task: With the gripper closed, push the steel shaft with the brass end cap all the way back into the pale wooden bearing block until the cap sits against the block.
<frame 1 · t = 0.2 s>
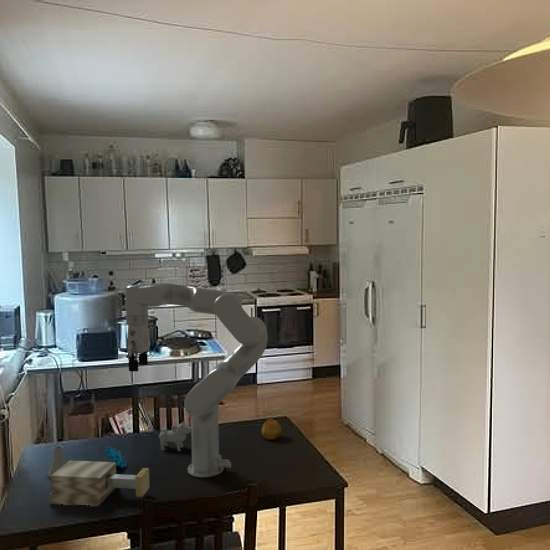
hand: (138, 367, 190), 36 cm above the table, tool pointing down, fingers open, 9 cm apart
flask: (59, 475, 187), on the table
fruit: (271, 438, 221), on the table
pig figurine: (175, 448, 211), on the table
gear: (116, 467, 194), on the table
bearing block: (85, 494, 172), on the table
shaft: (114, 480, 171), point 5 cm above the table, slide at 9.0 cm
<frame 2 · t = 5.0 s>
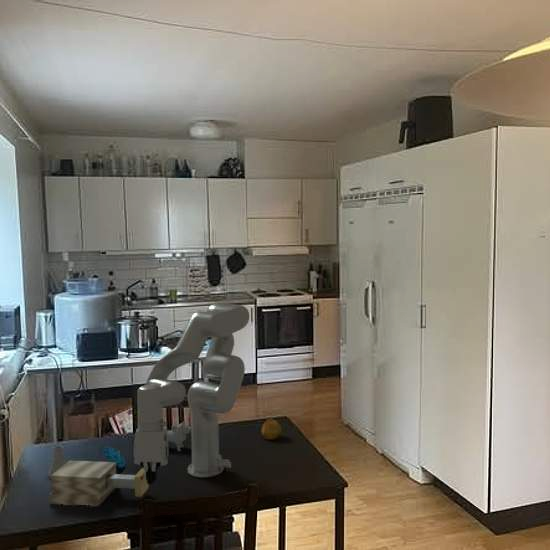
hand: (151, 482, 169), 5 cm above the table, tool pointing down, fingers closed
shaft: (114, 480, 171), point 5 cm above the table, slide at 8.7 cm, touching gripper
everything else where it was.
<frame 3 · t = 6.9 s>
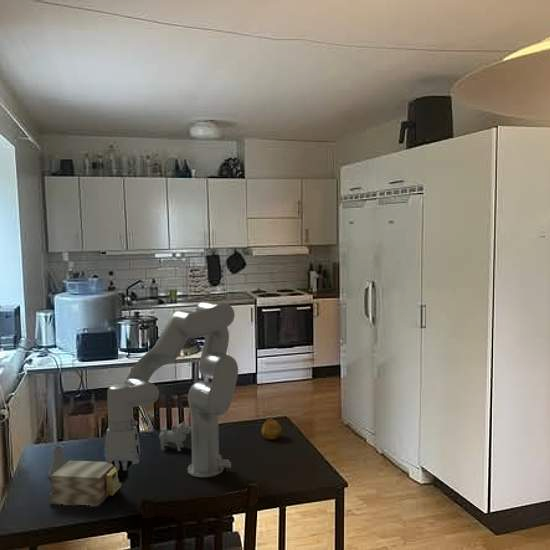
hand: (123, 480, 170), 5 cm above the table, tool pointing down, fingers closed
shaft: (86, 479, 172), point 5 cm above the table, slide at -0.5 cm, touching gripper
everything else where it was.
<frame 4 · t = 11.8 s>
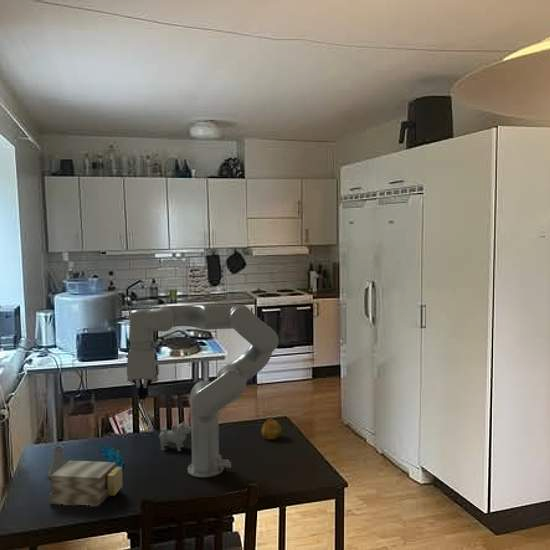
hand: (143, 398, 185), 27 cm above the table, tool pointing down, fingers closed
shaft: (87, 479, 172), point 5 cm above the table, slide at 0.0 cm
at the end: shaft slide at 0.0 cm; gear moved 1.3 cm from its start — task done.
